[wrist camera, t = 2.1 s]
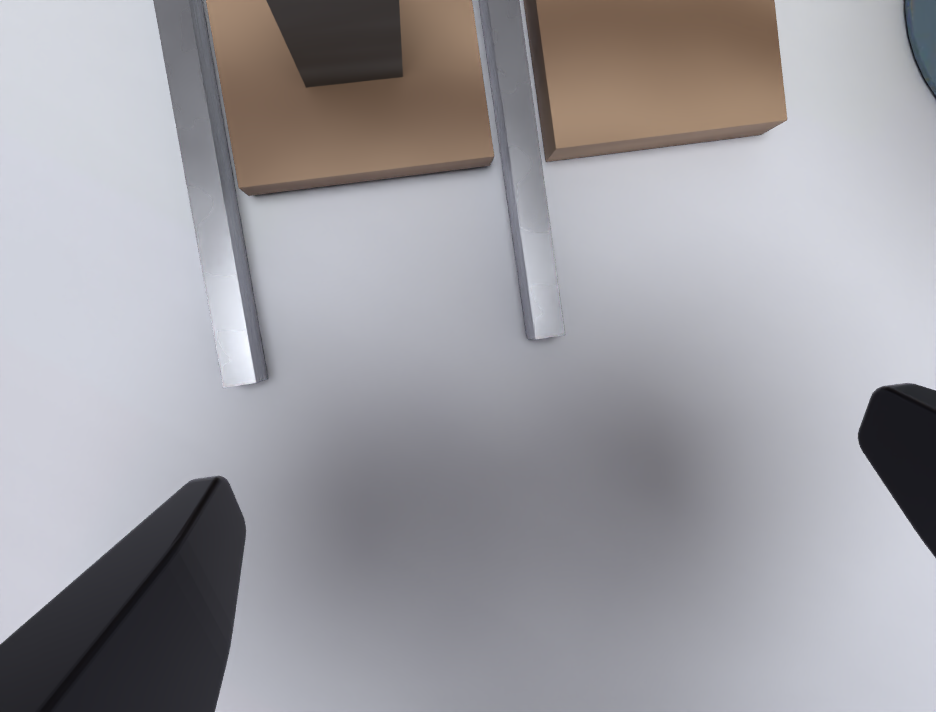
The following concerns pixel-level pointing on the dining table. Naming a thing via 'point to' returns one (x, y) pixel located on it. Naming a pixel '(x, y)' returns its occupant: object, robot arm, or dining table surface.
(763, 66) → the broken strip
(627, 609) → the dining table surface
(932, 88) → the cocktail glass
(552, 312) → the lane rails
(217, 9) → the tan wooden baseplate
